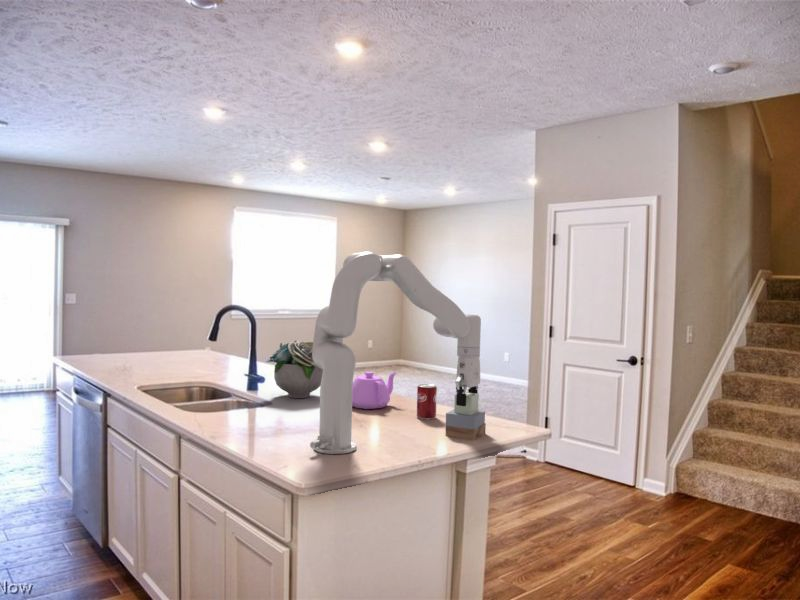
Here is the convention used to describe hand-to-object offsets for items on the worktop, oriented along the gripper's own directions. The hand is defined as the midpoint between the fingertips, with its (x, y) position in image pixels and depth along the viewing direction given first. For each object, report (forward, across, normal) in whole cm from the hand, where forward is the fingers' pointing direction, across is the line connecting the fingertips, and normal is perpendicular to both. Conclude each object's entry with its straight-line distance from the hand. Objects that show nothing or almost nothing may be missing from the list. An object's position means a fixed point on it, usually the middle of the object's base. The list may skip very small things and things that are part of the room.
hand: (466, 403), depth 193 cm
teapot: (+11, +20, +49) cm, 54 cm away
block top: (+7, 0, 0) cm, 7 cm away
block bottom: (+11, 0, 0) cm, 11 cm away
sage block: (+3, 0, 0) cm, 3 cm away
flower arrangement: (+11, +17, +84) cm, 87 cm away
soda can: (+11, +14, +22) cm, 28 cm away
